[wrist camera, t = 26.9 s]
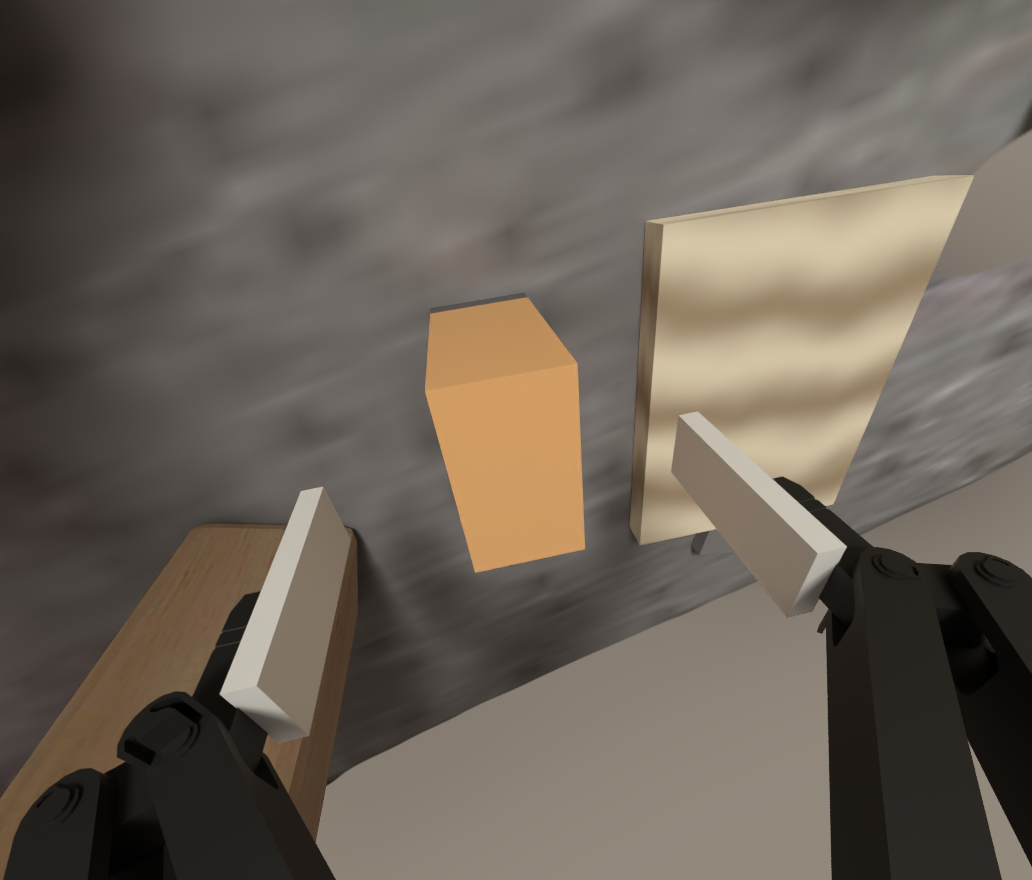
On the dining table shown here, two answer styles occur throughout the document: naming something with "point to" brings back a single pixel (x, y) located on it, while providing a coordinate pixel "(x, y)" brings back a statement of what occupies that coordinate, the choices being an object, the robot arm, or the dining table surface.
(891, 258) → the birch board
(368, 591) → the dining table surface
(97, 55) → the dining table surface
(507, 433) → the block
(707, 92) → the dining table surface
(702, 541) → the gray square block
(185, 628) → the wooden block
